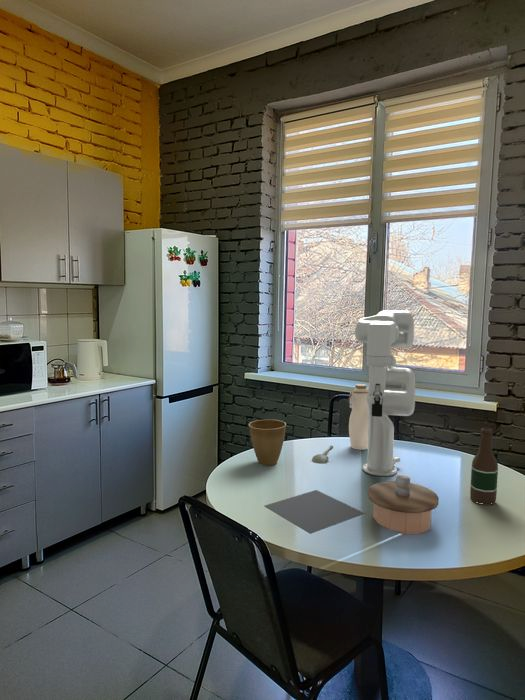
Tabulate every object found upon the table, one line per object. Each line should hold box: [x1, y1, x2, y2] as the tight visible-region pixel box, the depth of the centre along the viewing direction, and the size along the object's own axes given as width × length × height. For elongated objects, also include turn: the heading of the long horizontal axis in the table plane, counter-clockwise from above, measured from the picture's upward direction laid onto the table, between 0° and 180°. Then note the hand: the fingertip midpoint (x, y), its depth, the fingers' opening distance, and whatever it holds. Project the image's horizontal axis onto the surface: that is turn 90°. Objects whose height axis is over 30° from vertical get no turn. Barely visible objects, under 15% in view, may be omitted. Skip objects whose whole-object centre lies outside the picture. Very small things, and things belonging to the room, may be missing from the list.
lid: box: [367, 474, 440, 513], centre depth 141 cm, size 20×20×6 cm
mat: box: [264, 489, 366, 535], centre depth 148 cm, size 22×22×1 cm
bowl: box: [372, 503, 433, 535], centre depth 142 cm, size 16×16×7 cm
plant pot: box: [248, 419, 287, 467], centre depth 192 cm, size 15×15×16 cm
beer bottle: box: [469, 427, 499, 504], centre depth 156 cm, size 8×8×24 cm
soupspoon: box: [311, 445, 334, 465], centre depth 202 cm, size 22×3×7 cm
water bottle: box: [348, 383, 369, 451], centre depth 211 cm, size 10×9×28 cm
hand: (377, 412), depth 157 cm, fingers open, 9 cm apart
